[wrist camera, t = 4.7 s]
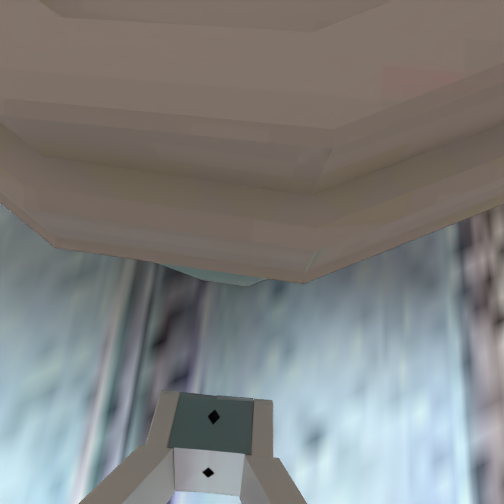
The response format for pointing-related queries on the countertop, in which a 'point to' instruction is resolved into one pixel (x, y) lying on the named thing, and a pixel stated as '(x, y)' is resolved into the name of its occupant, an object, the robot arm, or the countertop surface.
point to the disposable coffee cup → (249, 128)
